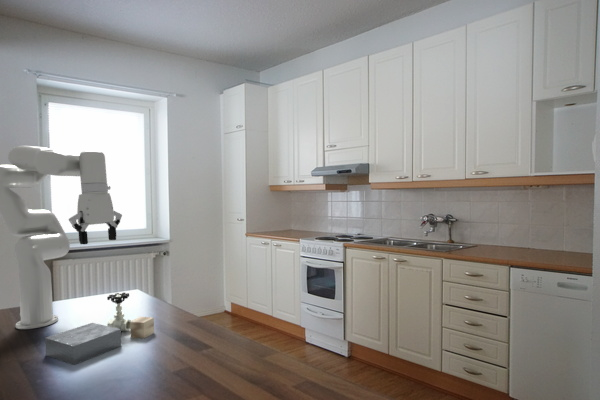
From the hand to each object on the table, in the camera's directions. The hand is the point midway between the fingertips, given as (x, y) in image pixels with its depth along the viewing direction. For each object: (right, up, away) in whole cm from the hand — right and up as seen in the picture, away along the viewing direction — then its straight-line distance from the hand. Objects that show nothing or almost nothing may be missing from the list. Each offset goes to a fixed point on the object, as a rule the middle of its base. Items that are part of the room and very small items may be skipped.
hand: (98, 241), depth 127 cm
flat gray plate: (+3, -30, -14) cm, 33 cm away
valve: (+6, -30, +2) cm, 30 cm away
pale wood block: (+15, -30, -2) cm, 33 cm away
